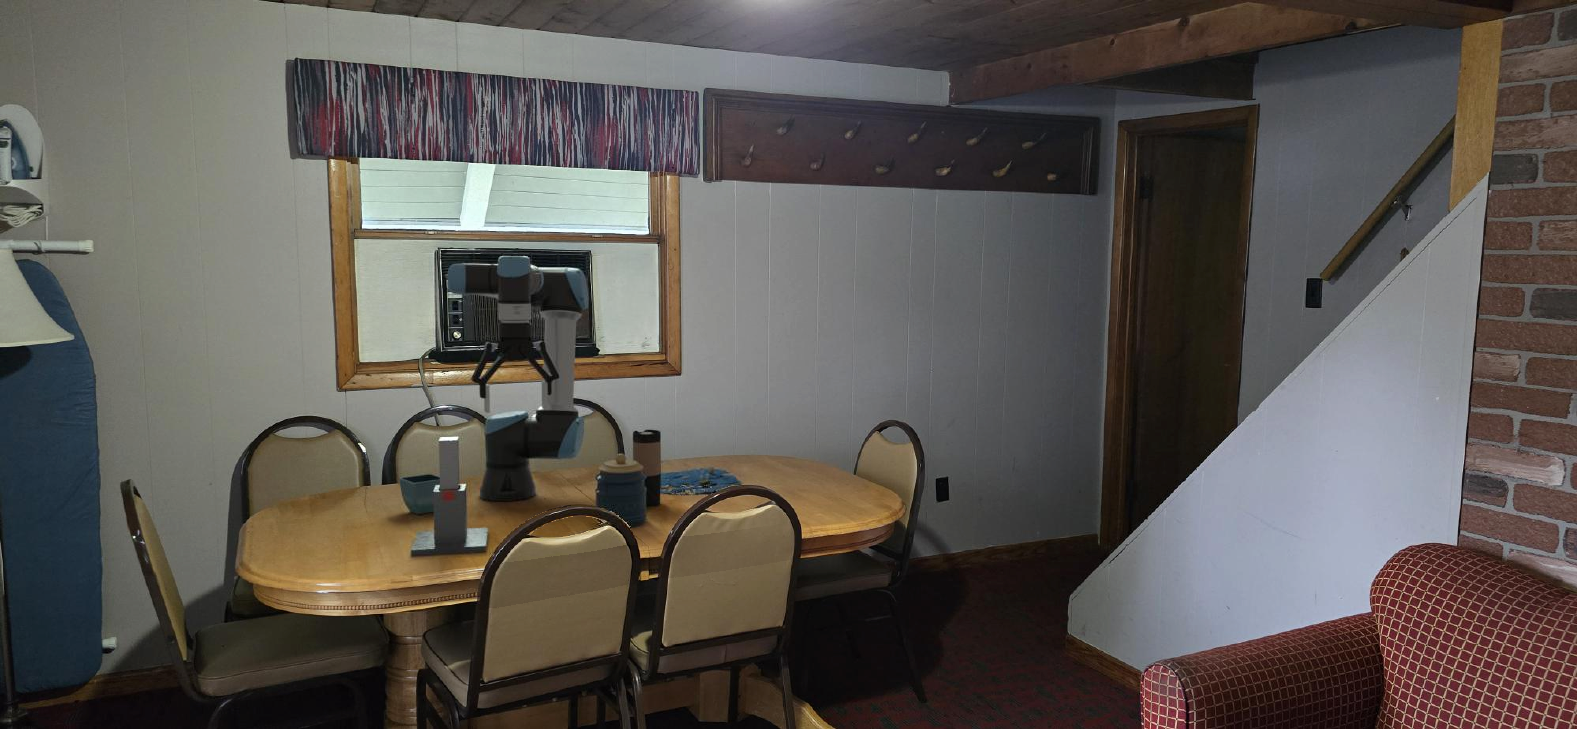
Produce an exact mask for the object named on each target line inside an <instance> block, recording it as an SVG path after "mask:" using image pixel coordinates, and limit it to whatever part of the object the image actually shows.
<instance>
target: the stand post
mask: <svg viewBox="0 0 1577 729" xmlns="http://www.w3.org/2000/svg"><path fill="white" fill-rule="evenodd" d="M459 445H460V444H459V436H449V437H448V436H447V437H439V440H438V456H439V457H438V459H439V460H438V461H439V463H438V464H439V466H438V467H439V477H440V491H441V490H460V484H461V483H460V452H459V451H460V450H459V448H460V447H459Z"/></svg>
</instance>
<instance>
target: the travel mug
mask: <svg viewBox="0 0 1577 729" xmlns="http://www.w3.org/2000/svg"><path fill="white" fill-rule="evenodd" d="M661 437H662V436H661V430H659V429H645V430H644V431H638V430H633V431H632V460H634V461H637V462H638V463H639V464H641V465H642V466H643V469H642V472H643V473H645V474H646V475H647V478H646V479H645V487H646V488H647V490H646V508H653V507H658V506H660V505H661V493H660V492H661V490H662V488H661V473H662V457H661V456H662V448H661V447H662V443H661V442H662V441H661ZM659 504H660V505H659Z"/></svg>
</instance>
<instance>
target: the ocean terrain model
mask: <svg viewBox="0 0 1577 729" xmlns="http://www.w3.org/2000/svg"><path fill="white" fill-rule="evenodd" d="M740 484H741V480H739V478H737V476H734V474H733V475H731V474H730V472H729V471H727V470H725V469H724V470H723V469H721V468H720V469H715V467H714V466H713V465H712V466H709V467H708V468H695V469H690V470H680V471H670V472H661V492H660V494H667V493H668V495H670V494H669V493H674V494H676V493H680V494H681V493H686V492H685V490H690V492H691V493H694V492H693V490H692V489H696V490H695V495H698V494H697V493H699V494H701V493H702V494H704V493H714V491H716V490H719V489H722V488H725V487H728V486H731V485H740ZM666 485H669V486H668V487H662V486H666ZM681 485H686V487H690V485H691V486H694V487H690V488H686V487H685V486H682V487H680V486H681ZM703 485H705V486H706V485H707V486H706V487H705V486H703ZM711 485H716V486H715V487H714V486H712V488H710V486H711ZM671 486H674V487H673V488H672V487H671ZM698 486H702V487H705V488H702V487H698ZM669 487H670V488H672V490H671V491H668V490H669V489H670V488H669ZM675 487H677V488H675ZM683 487H684V488H683ZM708 487H709V488H708ZM664 489H668V490H665V491H663V490H664ZM698 489H699V490H698ZM701 489H705V491H704V490H701ZM706 489H707V490H706ZM682 490H683V491H682ZM676 491H677V492H676ZM716 492H717V491H716ZM688 493H689V492H688ZM688 493H687V494H688ZM681 495H682V494H681Z"/></svg>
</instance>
